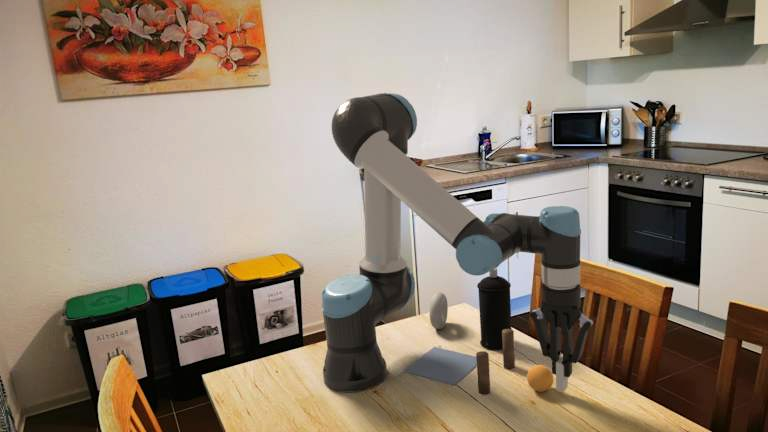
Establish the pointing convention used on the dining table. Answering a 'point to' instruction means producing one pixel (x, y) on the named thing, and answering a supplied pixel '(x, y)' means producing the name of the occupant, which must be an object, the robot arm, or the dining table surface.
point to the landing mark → (443, 365)
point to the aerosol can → (494, 310)
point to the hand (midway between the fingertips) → (562, 388)
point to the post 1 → (483, 372)
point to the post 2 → (508, 348)
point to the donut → (438, 310)
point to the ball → (540, 378)
